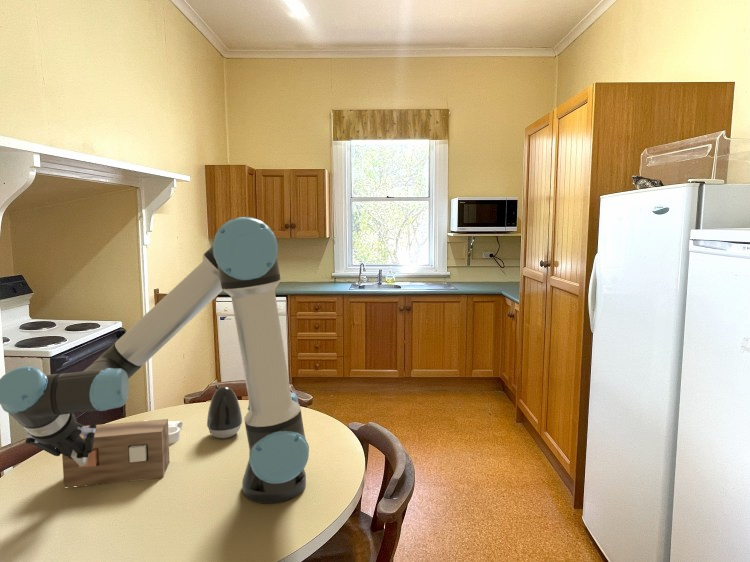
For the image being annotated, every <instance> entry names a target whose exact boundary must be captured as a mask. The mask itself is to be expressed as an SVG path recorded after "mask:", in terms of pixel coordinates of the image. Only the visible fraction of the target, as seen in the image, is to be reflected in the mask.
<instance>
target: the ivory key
mask: <svg viewBox="0 0 750 562" xmlns="http://www.w3.org/2000/svg"><path fill="white" fill-rule="evenodd" d="M147 457H148V444H138V445H131V446H130V448H129V458H130V462H138V461H146V459H147Z"/></svg>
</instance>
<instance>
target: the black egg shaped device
mask: <svg viewBox="0 0 750 562" xmlns="http://www.w3.org/2000/svg"><path fill="white" fill-rule="evenodd" d="M214 388H215V392H214V393H213V395H212V398H211V401H210V403H209V408H208V413H207V418H206V420H207V421H206V427H207V428H208V431H209V433H210V435H212V436H213V437H214V438H217V439H228V438H230V437H233V436H235V435H236V434H237V433H238V432H239V430H240V429H241V426H242V423H243V417H242V416H243V415H242V411H241V406H240V403H239V399H238V397H237V395H236V393H235V392H234V390H233V389H232V388H231V387H229V386H227V385H226V386H225V385H224V386H219V385H217V384H216V385H215V386H214Z"/></svg>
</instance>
